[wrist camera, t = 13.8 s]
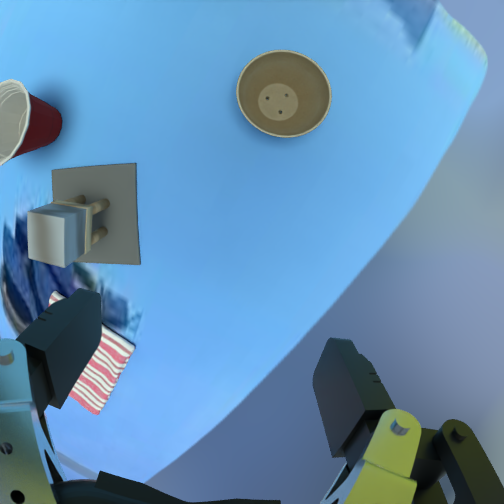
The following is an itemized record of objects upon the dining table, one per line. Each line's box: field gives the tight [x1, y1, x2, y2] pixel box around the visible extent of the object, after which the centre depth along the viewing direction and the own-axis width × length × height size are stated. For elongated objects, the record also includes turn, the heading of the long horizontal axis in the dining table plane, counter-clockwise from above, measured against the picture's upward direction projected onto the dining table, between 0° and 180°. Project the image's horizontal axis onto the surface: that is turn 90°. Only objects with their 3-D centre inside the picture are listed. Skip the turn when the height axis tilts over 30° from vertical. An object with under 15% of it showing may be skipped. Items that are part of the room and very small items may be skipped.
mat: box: [52, 163, 141, 265], centre depth 38 cm, size 14×14×1 cm
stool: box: [28, 195, 110, 268], centre depth 32 cm, size 6×6×12 cm
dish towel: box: [48, 291, 135, 415], centre depth 45 cm, size 17×23×4 cm
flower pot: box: [236, 50, 332, 138], centre depth 31 cm, size 10×10×7 cm
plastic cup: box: [0, 79, 62, 166], centre depth 28 cm, size 11×11×12 cm
